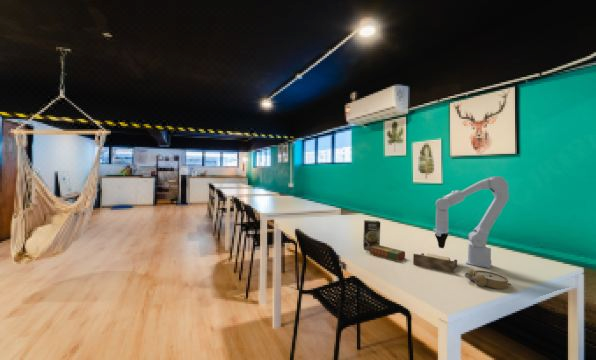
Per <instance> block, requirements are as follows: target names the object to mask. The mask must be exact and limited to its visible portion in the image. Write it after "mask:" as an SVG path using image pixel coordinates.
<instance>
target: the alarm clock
mask: <svg viewBox="0 0 596 360" xmlns="http://www.w3.org/2000/svg"><path fill="white" fill-rule="evenodd" d="M464 278H466V279H468V280H469V281H474V283H475V285H476V286H479V287H488V288H492V289H498V290H507V288H508V286H512V284H511V283H509V278H507V277H505V276H504V275H501V274H498V273H495V272H492V271H485V270H480V269H478V270H477V269H476V270H474V269H473V268H471V269H468V271H467V272H465V273H464Z"/></svg>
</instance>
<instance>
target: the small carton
mask: <svg viewBox="0 0 596 360" xmlns="http://www.w3.org/2000/svg"><path fill="white" fill-rule="evenodd" d="M424 256H430V257H435V258H440V259H445V260H450V261H451V257H448V256H444V255H437V254H432V253H427V254H426V255H425V254H424Z"/></svg>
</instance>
